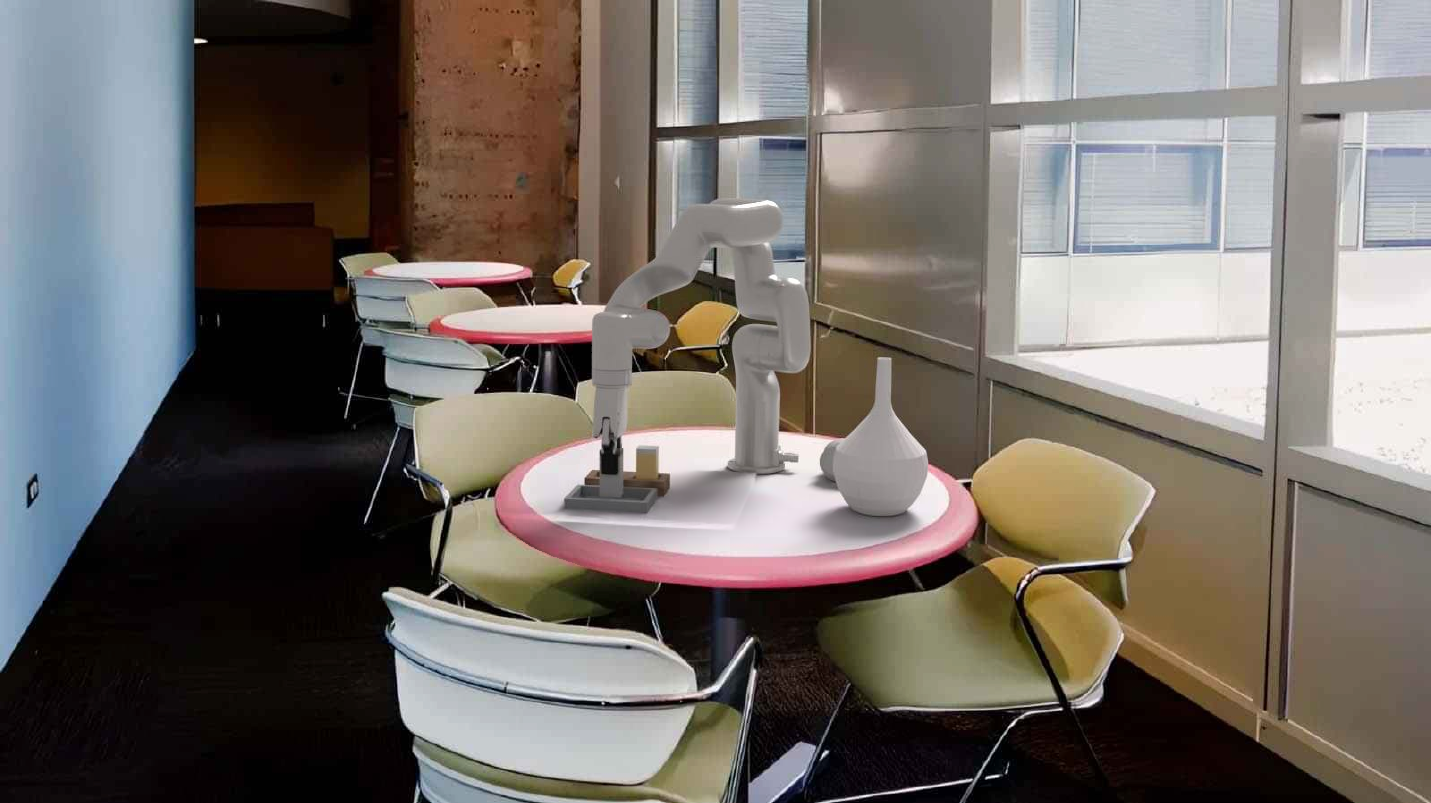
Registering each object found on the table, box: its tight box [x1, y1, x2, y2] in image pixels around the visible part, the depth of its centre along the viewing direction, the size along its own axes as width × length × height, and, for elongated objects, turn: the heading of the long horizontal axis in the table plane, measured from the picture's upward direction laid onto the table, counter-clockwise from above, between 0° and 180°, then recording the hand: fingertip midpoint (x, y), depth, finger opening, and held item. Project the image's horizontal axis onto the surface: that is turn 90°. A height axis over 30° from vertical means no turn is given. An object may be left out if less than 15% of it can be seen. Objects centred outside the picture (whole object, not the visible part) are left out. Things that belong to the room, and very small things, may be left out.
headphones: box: [819, 437, 846, 483], centre depth 280 cm, size 18×8×20 cm
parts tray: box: [563, 484, 659, 514], centre depth 253 cm, size 16×11×3 cm
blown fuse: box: [599, 447, 624, 498], centre depth 252 cm, size 4×3×9 cm
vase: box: [833, 356, 929, 517], centre depth 253 cm, size 18×18×30 cm
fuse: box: [635, 444, 660, 480], centre depth 262 cm, size 4×3×9 cm
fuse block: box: [583, 469, 671, 498], centre depth 263 cm, size 16×7×4 cm, turn 82°
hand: (611, 471), depth 252 cm, fingers closed on blown fuse, 3 cm apart
